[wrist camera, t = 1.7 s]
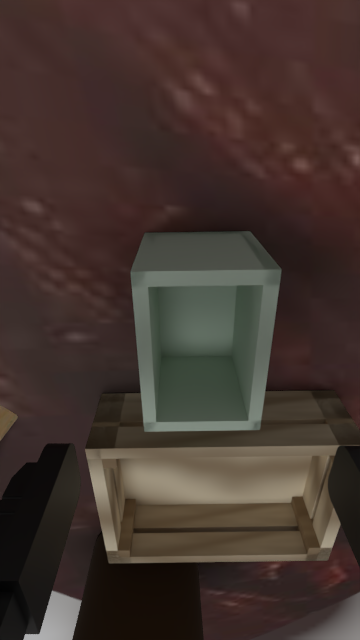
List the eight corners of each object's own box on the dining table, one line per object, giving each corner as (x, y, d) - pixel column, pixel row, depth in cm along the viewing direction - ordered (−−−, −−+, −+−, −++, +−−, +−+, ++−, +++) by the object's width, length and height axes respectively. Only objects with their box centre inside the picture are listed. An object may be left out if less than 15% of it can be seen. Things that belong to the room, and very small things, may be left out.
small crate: (144, 232, 17) (130, 271, 12) (249, 231, 17) (281, 269, 12) (152, 359, 21) (144, 431, 16) (239, 358, 21) (260, 429, 16)
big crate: (101, 393, 22) (85, 449, 18) (334, 390, 22) (368, 444, 18) (118, 502, 28) (108, 563, 24) (305, 499, 28) (327, 560, 24)
